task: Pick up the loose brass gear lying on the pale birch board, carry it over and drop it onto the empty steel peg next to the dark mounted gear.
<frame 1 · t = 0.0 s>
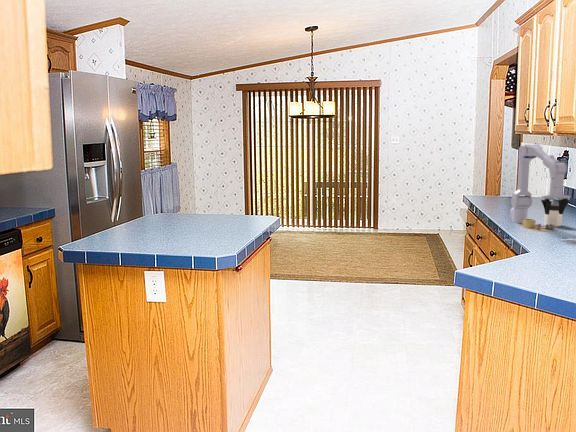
hand: (553, 214, 269), 10 cm above the countertop, tool pointing down, fingers open, 7 cm apart
brass gear: (528, 227, 283), point 1 cm above the countertop, touching gear board
gear board: (537, 230, 281), on the countertop
jar: (552, 227, 291), on the countertop
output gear: (549, 229, 277), resting on gear board
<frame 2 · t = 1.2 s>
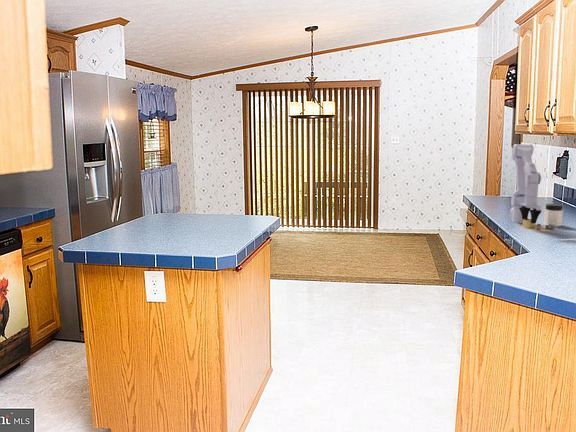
hand: (529, 221, 282), 4 cm above the countertop, tool pointing down, fingers open, 7 cm apart
nothing on the countertop moved.
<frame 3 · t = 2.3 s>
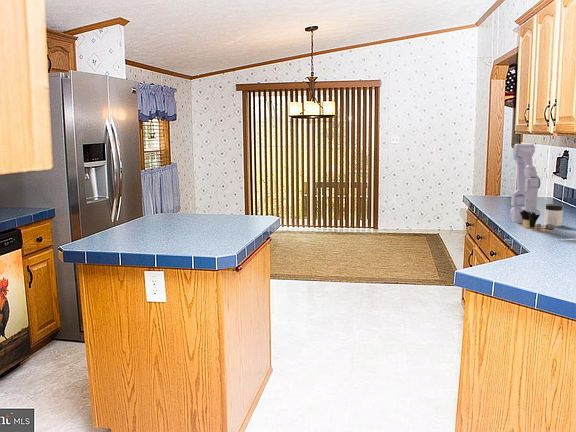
hand: (528, 226, 283), 2 cm above the countertop, tool pointing down, fingers closed on brass gear, 5 cm apart
brass gear: (528, 227, 283), point 1 cm above the countertop, touching gear board, gripper
everything else where it was.
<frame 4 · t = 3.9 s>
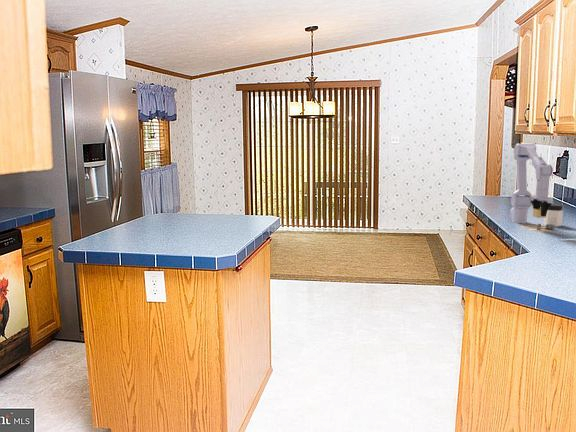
hand: (539, 215, 275), 9 cm above the countertop, tool pointing down, fingers closed on brass gear, 5 cm apart
brass gear: (539, 216, 275), point 8 cm above the countertop, touching gripper
everything else where it was.
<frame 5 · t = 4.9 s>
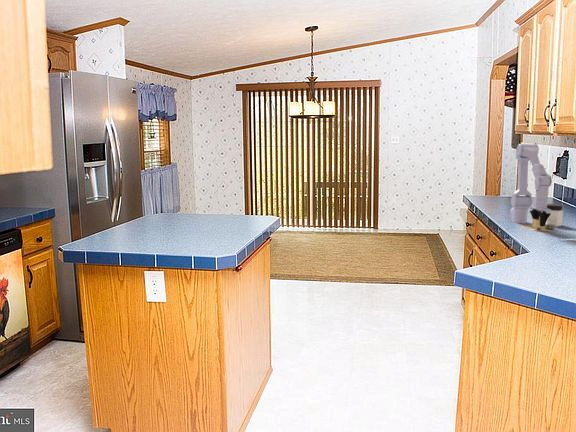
hand: (538, 225, 276), 3 cm above the countertop, tool pointing down, fingers closed on brass gear, 5 cm apart
brass gear: (538, 226, 276), point 3 cm above the countertop, touching gripper
everything else where it was.
when the fingers open (3 cm above the countertop, at t = 5.7 s): brass gear drops 2 cm, resting on gear board.
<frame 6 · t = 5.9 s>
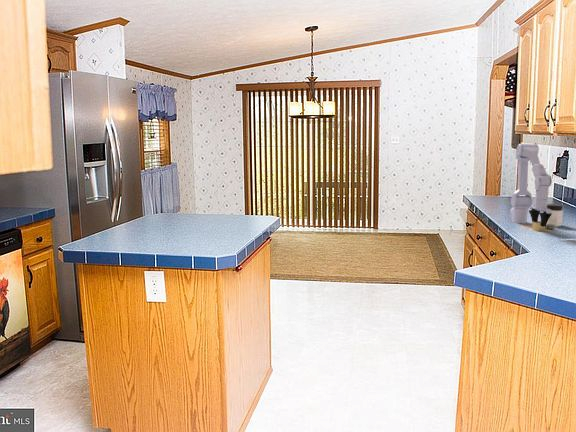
hand: (538, 225, 276), 3 cm above the countertop, tool pointing down, fingers open, 7 cm apart
brass gear: (538, 229, 276), point 1 cm above the countertop, touching gear board
everything else where it was.
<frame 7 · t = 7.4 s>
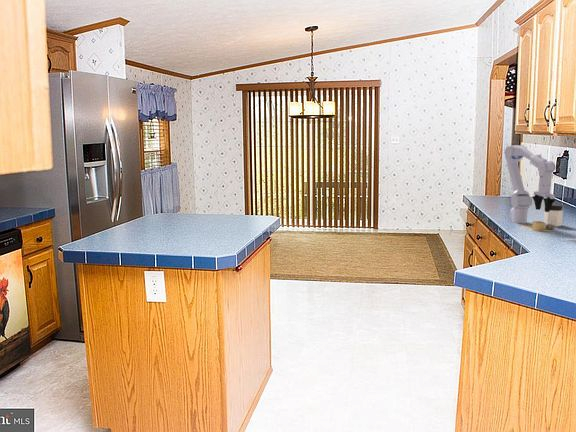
hand: (542, 210, 281), 10 cm above the countertop, tool pointing down, fingers open, 7 cm apart
nothing on the countertop moved.
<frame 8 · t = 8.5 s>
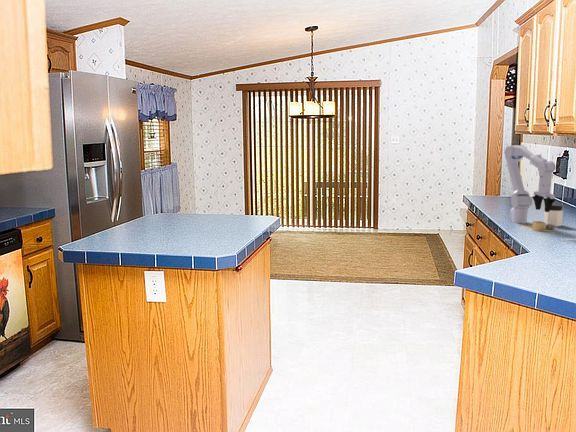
hand: (542, 210, 281), 10 cm above the countertop, tool pointing down, fingers open, 7 cm apart
nothing on the countertop moved.
at the end: brass gear 0.1 cm from the target spot on the gear board, point 1.0 cm above the gear board's base; brass gear tilted 0°; the gripper is holding nothing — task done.
